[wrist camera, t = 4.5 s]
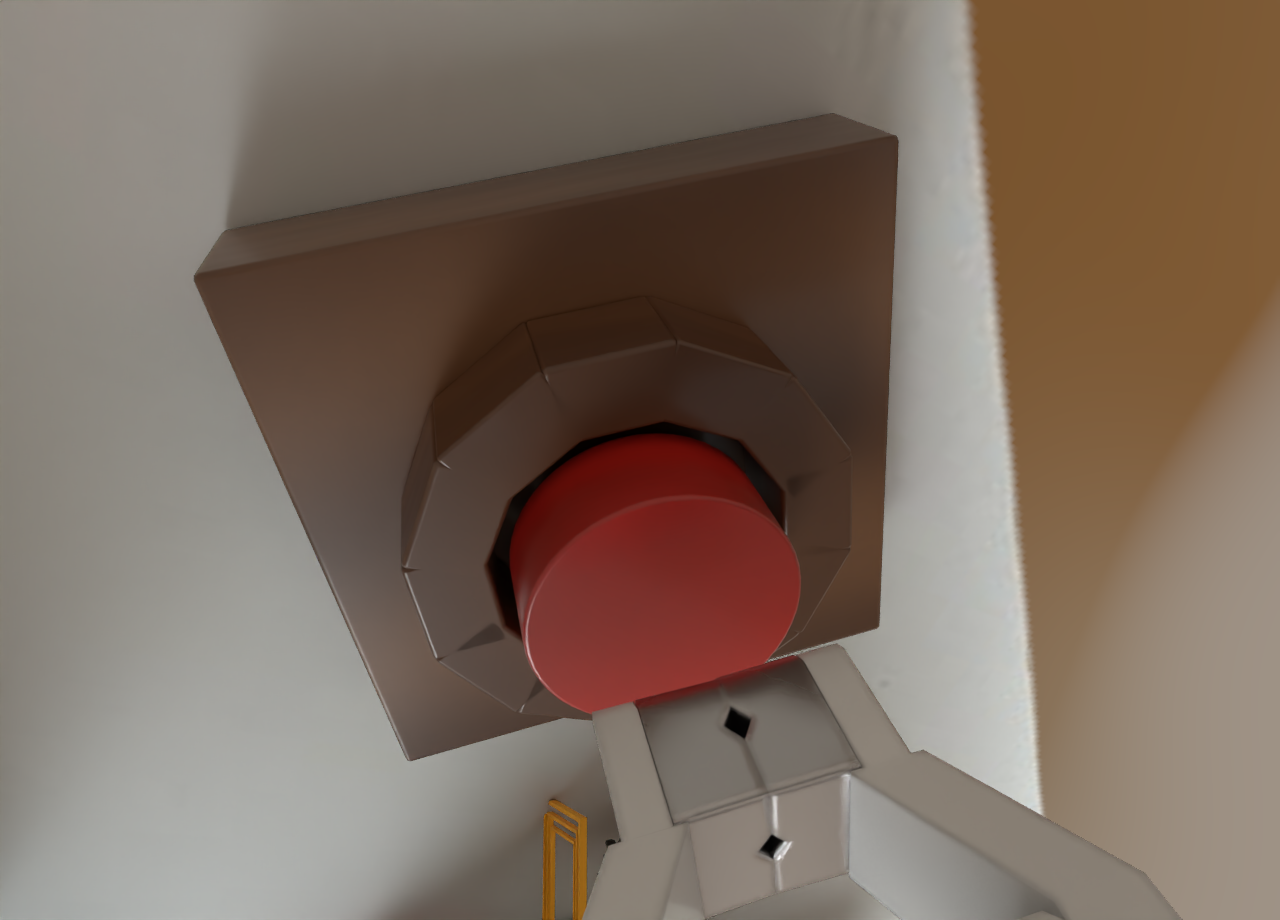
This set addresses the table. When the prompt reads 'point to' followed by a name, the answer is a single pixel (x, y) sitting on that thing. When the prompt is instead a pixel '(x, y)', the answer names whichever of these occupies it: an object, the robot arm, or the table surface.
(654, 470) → the button
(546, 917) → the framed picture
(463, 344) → the button box
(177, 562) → the table surface
